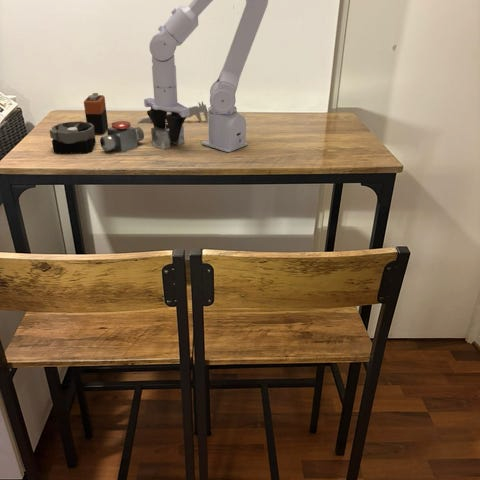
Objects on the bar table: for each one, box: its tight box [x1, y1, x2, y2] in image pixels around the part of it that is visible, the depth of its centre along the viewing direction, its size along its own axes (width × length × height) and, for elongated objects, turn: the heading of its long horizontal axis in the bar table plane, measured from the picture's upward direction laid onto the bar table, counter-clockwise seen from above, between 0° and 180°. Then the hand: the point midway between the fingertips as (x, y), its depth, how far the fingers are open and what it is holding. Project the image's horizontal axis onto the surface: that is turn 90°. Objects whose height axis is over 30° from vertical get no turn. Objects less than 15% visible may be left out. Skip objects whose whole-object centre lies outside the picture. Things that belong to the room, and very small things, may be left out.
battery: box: [83, 92, 109, 135], centre depth 133 cm, size 4×7×10 cm, turn 3°
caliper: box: [136, 100, 208, 124], centre depth 143 cm, size 21×1×6 cm, turn 96°
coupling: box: [150, 122, 185, 151], centre depth 126 cm, size 7×5×5 cm, turn 140°
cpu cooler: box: [48, 120, 97, 155], centre depth 122 cm, size 10×6×10 cm
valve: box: [99, 120, 145, 153], centre depth 123 cm, size 11×5×6 cm, turn 140°
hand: (168, 139), depth 127 cm, fingers closed on coupling, 4 cm apart
